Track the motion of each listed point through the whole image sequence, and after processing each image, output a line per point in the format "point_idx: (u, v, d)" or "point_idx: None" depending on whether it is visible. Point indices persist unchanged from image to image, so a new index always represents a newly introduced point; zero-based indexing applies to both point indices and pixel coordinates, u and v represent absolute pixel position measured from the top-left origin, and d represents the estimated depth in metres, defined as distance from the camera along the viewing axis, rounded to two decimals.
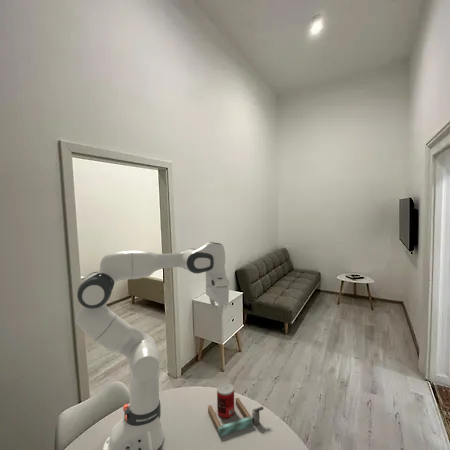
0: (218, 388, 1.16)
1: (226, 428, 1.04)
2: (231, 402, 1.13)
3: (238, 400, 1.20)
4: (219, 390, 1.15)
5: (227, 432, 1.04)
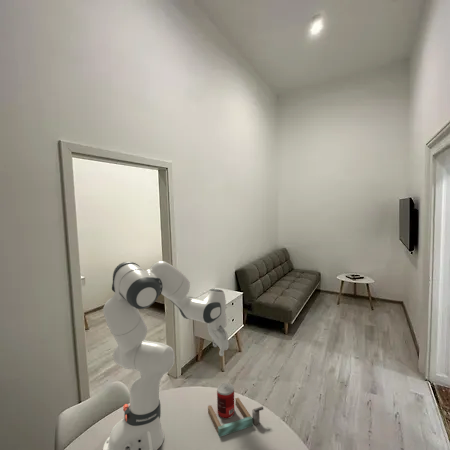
0: (218, 388, 1.16)
1: (226, 428, 1.04)
2: (231, 402, 1.13)
3: (238, 400, 1.20)
4: (219, 390, 1.15)
5: (227, 432, 1.04)
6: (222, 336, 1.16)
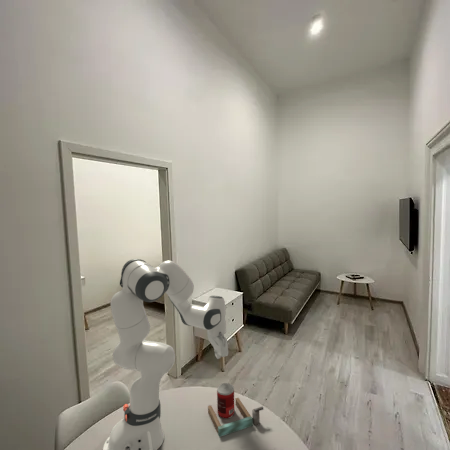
0: (218, 388, 1.16)
1: (226, 428, 1.04)
2: (231, 402, 1.13)
3: (238, 400, 1.20)
4: (219, 390, 1.15)
5: (227, 432, 1.04)
6: (222, 343, 1.17)
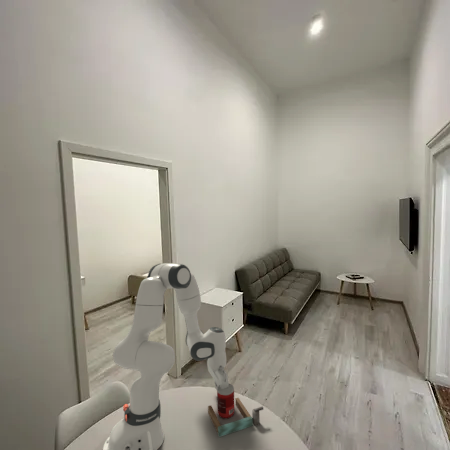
0: (218, 388, 1.16)
1: (226, 428, 1.04)
2: (231, 402, 1.13)
3: (238, 400, 1.20)
4: (219, 390, 1.15)
5: (227, 432, 1.04)
6: (222, 378, 1.17)
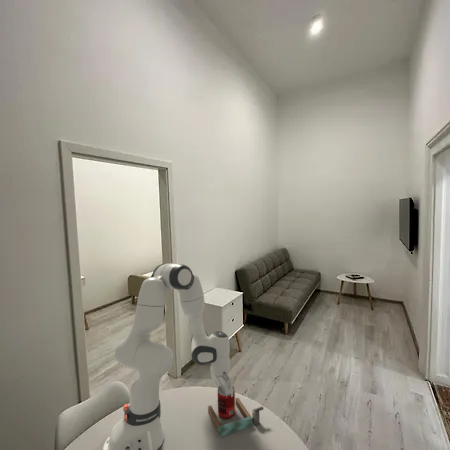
0: (219, 388, 1.16)
1: (226, 428, 1.04)
2: (231, 403, 1.13)
3: (238, 400, 1.20)
4: (219, 390, 1.15)
5: (227, 432, 1.04)
6: (226, 384, 1.13)
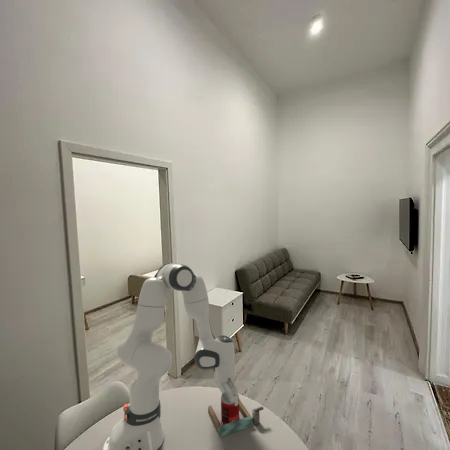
0: (222, 395, 1.11)
1: (226, 428, 1.04)
2: (235, 412, 1.07)
3: None
4: (223, 398, 1.10)
5: (227, 432, 1.04)
6: (232, 392, 1.07)
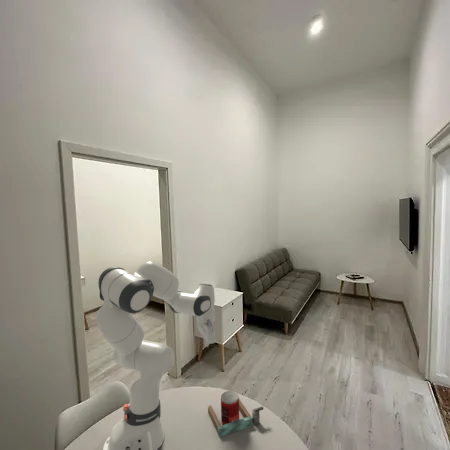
0: (222, 395, 1.11)
1: (226, 428, 1.04)
2: (235, 412, 1.07)
3: None
4: (223, 398, 1.10)
5: (227, 432, 1.04)
6: (209, 329, 1.17)
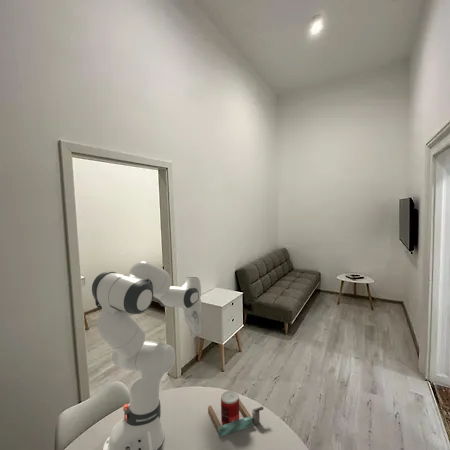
0: (222, 395, 1.11)
1: (226, 428, 1.04)
2: (235, 412, 1.07)
3: None
4: (223, 398, 1.10)
5: (227, 432, 1.04)
6: (195, 320, 1.21)
